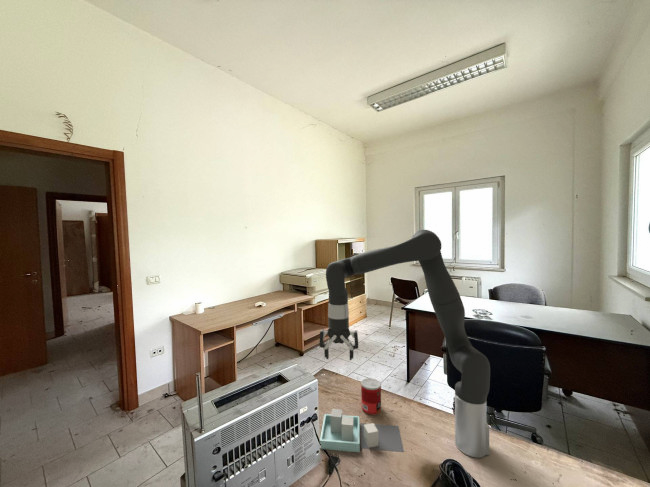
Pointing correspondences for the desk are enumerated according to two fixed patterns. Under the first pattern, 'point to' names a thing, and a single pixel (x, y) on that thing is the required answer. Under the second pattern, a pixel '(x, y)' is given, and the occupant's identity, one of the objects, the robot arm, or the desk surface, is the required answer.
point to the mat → (385, 438)
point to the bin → (339, 437)
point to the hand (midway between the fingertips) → (339, 358)
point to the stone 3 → (371, 435)
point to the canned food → (371, 396)
